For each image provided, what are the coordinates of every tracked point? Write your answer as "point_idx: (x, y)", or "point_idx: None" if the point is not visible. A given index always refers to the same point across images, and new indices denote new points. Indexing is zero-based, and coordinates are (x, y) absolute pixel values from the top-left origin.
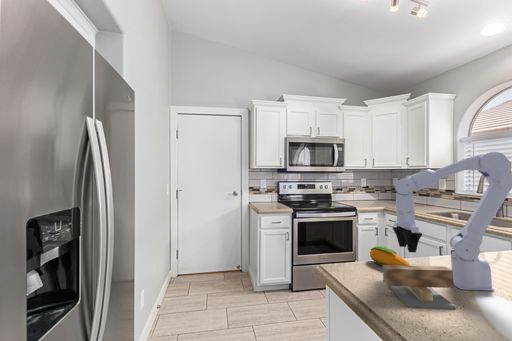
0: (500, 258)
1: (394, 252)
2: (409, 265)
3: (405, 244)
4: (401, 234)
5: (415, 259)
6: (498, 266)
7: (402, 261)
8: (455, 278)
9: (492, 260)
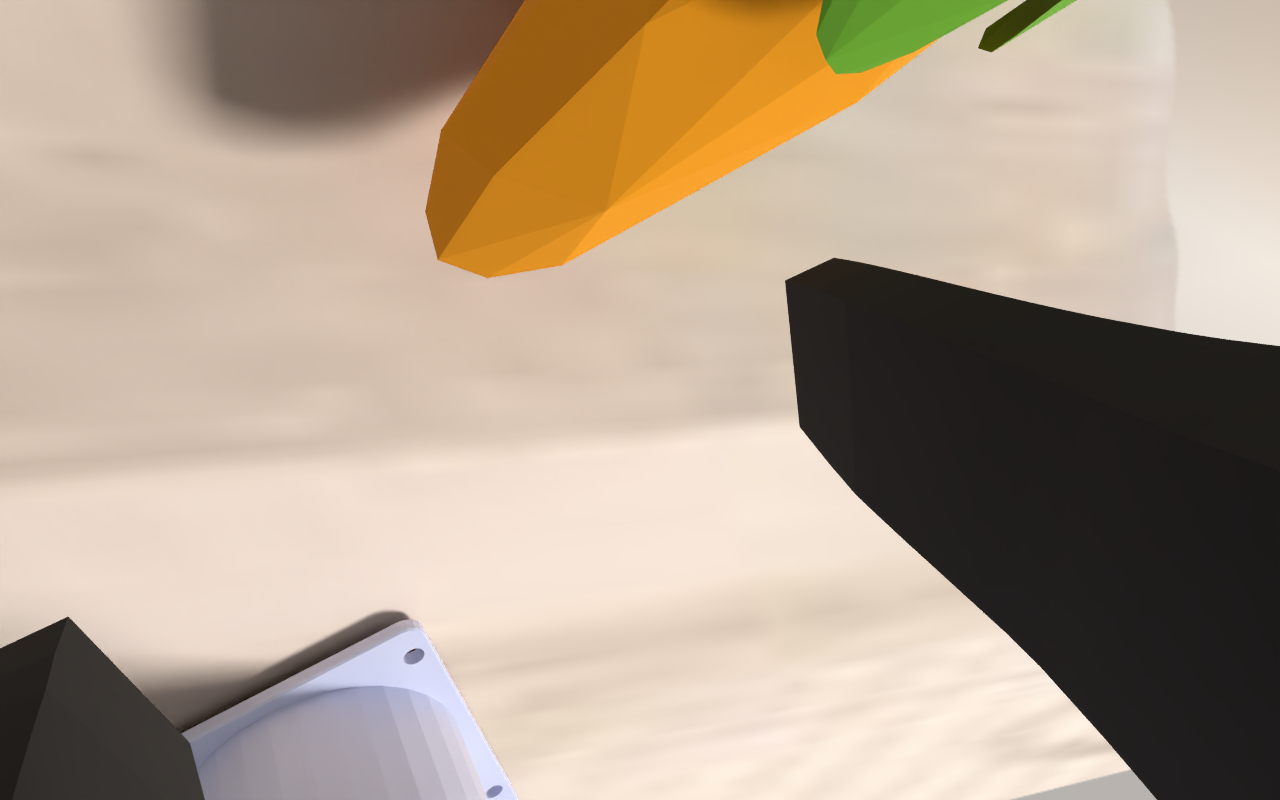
0: (1085, 759)
1: (867, 13)
2: (474, 272)
3: (848, 458)
4: (1188, 626)
5: (1126, 263)
6: (933, 789)
7: (541, 158)
8: (246, 795)
9: (1051, 741)
